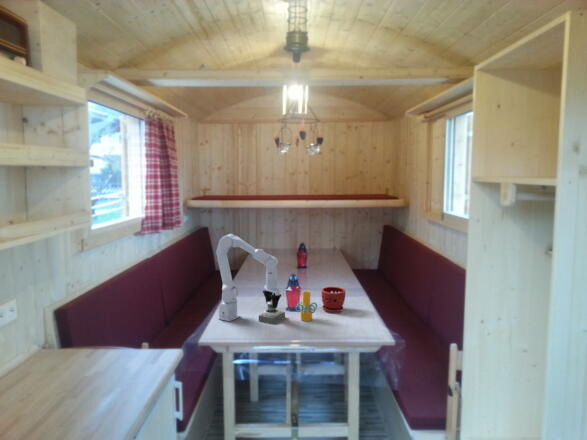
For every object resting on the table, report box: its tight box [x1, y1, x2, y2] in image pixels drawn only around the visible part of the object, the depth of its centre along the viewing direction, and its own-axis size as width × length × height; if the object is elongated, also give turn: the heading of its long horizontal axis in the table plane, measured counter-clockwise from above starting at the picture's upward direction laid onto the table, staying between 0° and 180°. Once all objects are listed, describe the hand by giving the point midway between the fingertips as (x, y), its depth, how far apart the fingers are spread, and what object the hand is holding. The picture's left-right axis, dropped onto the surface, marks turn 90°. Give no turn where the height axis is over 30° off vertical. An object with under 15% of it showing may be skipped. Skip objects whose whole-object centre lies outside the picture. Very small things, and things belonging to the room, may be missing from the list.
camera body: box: [258, 308, 286, 325], centre depth 226 cm, size 12×8×4 cm
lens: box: [266, 300, 277, 313], centre depth 226 cm, size 5×5×6 cm
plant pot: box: [321, 286, 346, 314], centre depth 240 cm, size 13×13×12 cm
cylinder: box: [294, 289, 318, 322], centre depth 225 cm, size 12×10×15 cm
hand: (271, 305), depth 226 cm, fingers open, 7 cm apart
